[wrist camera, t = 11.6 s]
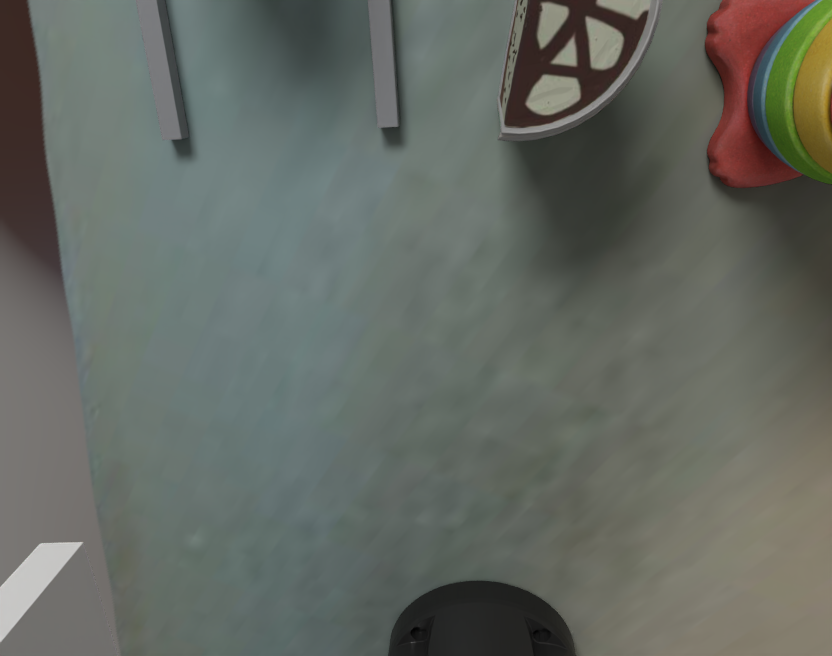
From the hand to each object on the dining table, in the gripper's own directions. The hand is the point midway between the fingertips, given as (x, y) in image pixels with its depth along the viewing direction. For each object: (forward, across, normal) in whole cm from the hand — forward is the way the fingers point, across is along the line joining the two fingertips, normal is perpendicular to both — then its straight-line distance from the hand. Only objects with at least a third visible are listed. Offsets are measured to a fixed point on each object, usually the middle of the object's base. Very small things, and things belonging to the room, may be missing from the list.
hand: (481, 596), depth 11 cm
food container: (+33, -6, -11) cm, 35 cm away
